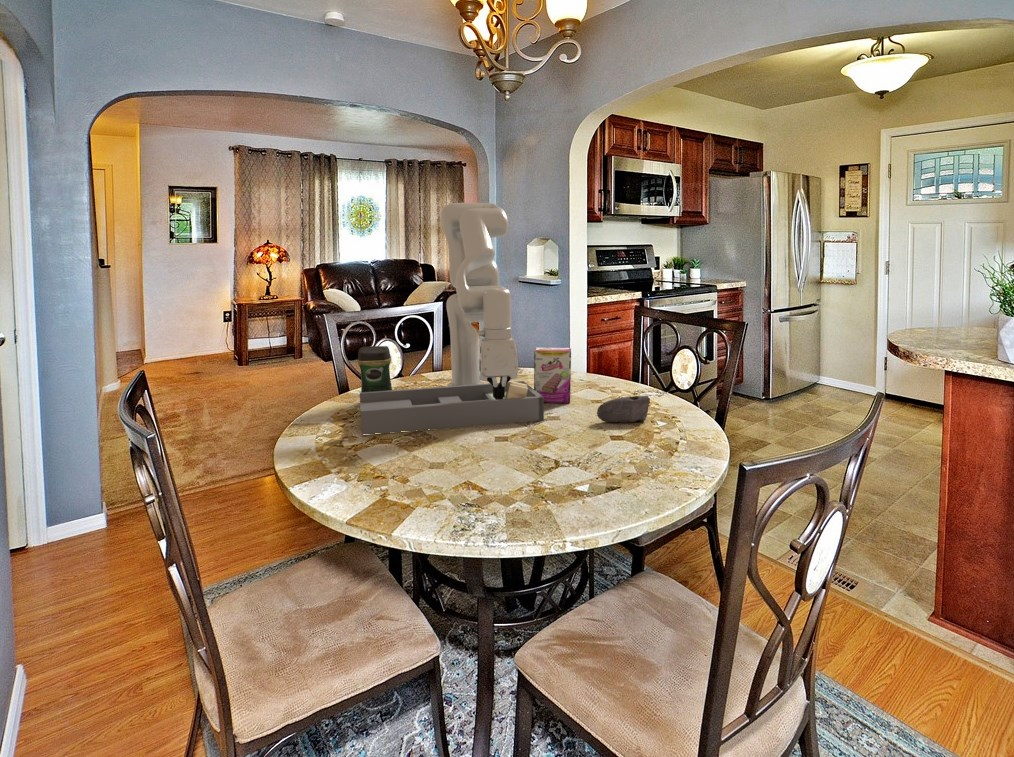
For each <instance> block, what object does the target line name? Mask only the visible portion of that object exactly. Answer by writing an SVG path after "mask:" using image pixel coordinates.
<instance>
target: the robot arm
mask: <svg viewBox="0 0 1014 757" xmlns="http://www.w3.org/2000/svg"><path fill="white" fill-rule="evenodd" d="M440 220H441V221H440V222H441V227H442V230H443V234H444V236H445V239H446V242H447V245H448V264H449V265H448V267H449V271H448V272H449V281H450V284H451V286H452V287H453V288H455V291H456V293H453V294H452V295H450V296H449V297H448V298H447V300H446V312H447V318H448V324H449V335H450V337H449V338H450V360H451V362H450V364H451V382H449V383H448V384H447V386H459V385H473V384H486V383H485V382H487V383H490V384H491V385H493V398H495V400H497V399H503V397H505V386H506V384H507V383H508V382H509V381H512V380H515V379H517V378H518V373H519V362H518V352H517V345H516V344H517V343H516V340H515V338H513V336H512V293H511V291H510V290H509V289H507V288H506V287H505V286H503V285H500V277H499V276H500V273H499V267H498V265H497V263H496V261H495V260H494V258H495V256H496V253H495V251H496V250H495V247H494V243H493V238H504V237H505V236H506V235H507V234H508V232H509V218H508V216H507V213H506V212H505V210H504V209H503V207H500V206H498V205H497V204H495V203H492V202H453V203H448V204H446V205H444V206H443V207H442V209H441V213H440ZM477 322H478V323H479V322H483V328H482V330H479V331H477V330H476V328H475V327H474V326H473V325H472V323H477ZM480 337H483V339H481V341H480ZM497 378H499V382H498V379H497ZM497 383H499V385H498V384H497Z"/></svg>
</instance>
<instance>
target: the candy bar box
mask: <svg viewBox="0 0 1014 757" xmlns="http://www.w3.org/2000/svg"><path fill="white" fill-rule="evenodd" d="M533 356H534V357H533V359H534V362H533V363H534V364H533V389H534V390H535V391H537V392H538V393H539V394H540V395H542V396H543V397H544V404H548V403H549V404H570V403H571V394H572V393H571V392H572V391H571V390H572V388H571V387H572V384H571V383H572V348H571V347H535V348H534V354H533Z"/></svg>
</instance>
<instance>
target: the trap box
mask: <svg viewBox="0 0 1014 757" xmlns="http://www.w3.org/2000/svg"><path fill="white" fill-rule="evenodd" d="M514 382H517V383H522V384H526V385H527V387H528V390H527V394H526V397H522V398H510V399H505V397H506V393H507V388H508V384H509V382H508V383H507V384H506V386H505V397H503V399H497V400H495V398H493V385H491V384H490V383H489V382H487V383H485V384H473V385H459V386H448V385H446V386H433V387H432V386H431V387H419V388H405V389H392V390H388V391H374V392H359V406H360V407H359V408H360V422H361V432H362V433H361V434H362V435H363V434H375V433H390V432H401V431H414V432H417V431H416V430H426V431H432V430H431V429H438V430H447V428H449V429H460V428H469V427H470V428H471V427H480V426H481V427H482V426H493V425H503V424H505V425H506V424H517V423H518V424H519V423H529V422H538V421H539V422H540V421H541V422H542V421H544V420H545V405H544V404H545V403H544V397H543V396H542V395H540V394H539V393H538V392H537V391H535V390H534V387H532V386H530V385H529V384H528V383H527V382H525V381H524V380H517V381H514ZM499 383H500V382H497V384H498V385H499ZM428 429H430V430H428ZM362 435H361V436H362Z"/></svg>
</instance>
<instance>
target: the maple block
mask: <svg viewBox="0 0 1014 757" xmlns="http://www.w3.org/2000/svg"><path fill="white" fill-rule="evenodd" d="M527 390H528V387H527V385H526V384H522V383H517V382H515V381H512V380H510V381H509V384H508V388H507V393H506V397H505V399H510V398H522V397H526V394H527Z"/></svg>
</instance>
